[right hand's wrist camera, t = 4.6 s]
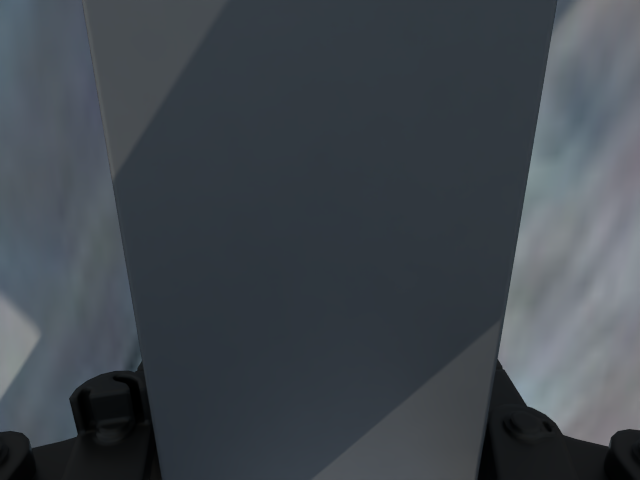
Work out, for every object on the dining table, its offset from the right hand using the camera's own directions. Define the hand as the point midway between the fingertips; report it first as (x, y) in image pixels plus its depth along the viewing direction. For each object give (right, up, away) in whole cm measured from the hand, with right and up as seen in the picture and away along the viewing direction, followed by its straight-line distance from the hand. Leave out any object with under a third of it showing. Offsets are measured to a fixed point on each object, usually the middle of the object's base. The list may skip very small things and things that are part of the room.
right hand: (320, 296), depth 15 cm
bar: (0, +8, -2) cm, 9 cm away
